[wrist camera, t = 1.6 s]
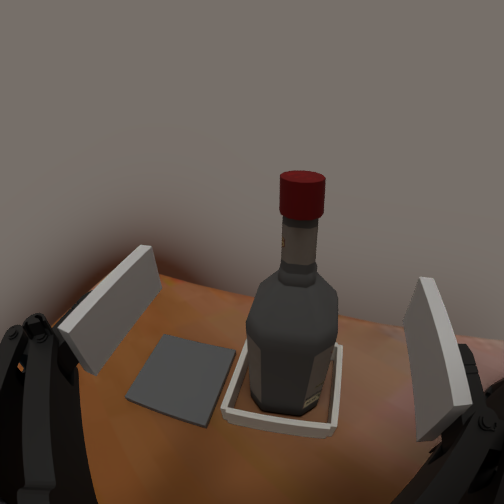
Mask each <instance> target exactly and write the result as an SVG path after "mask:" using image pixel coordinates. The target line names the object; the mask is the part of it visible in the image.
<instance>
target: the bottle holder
mask: <svg viewBox="0 0 504 504" xmlns="http://www.w3.org/2000/svg"><path fill="white" fill-rule="evenodd" d="M342 353H343V345H338V343H335V345H334V349H333V353H332V356H331V360H333V361H334V362H333V374H332V385H331V395H330V404H329V413H328V421H327V423H319V422H309V421H301V420H294V419H287V418H280V417H274V416H268V415H262V414H257V413H252V412H247V411H242V410H238V409H233V408H234V405H235V403H236V400H237V397H238V394H239V391H240V388H241V385H242V383H243V380H244V377H245V374H246V371H247V368H248V365H249V363H248V348H247V339H246V341H245V344H244V347H243V350H242V352H241V355H240V358H239V360H238V363H237V366H236V368H235V371H234V374H233V376H232V379H231V382H230V384H229V387H228V389H227V392H226V395H225V397H224V400H223V402H222V405H221V408H220V409H221V412H222V416H223V419H225V420H228V423H231V424H235V425H239V426H244V427H249V428H254V429H259V430H264V431H270V432H276V433H282V434H289V435H296V436H304V437H313V438H323V439H325V438H326V436H330V437H331V436H332V435H333V433H334V431H335V429H336V428H337V422H338V412H339V401H340V389H341V373H342Z"/></svg>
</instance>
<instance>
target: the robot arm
mask: <svg viewBox="0 0 504 504" xmlns="http://www.w3.org/2000/svg"><path fill="white" fill-rule="evenodd" d="M161 289H162V286H161V282H160V278H159V274H158V270H157V266H156V262H155V257H154V253H153V249H152V246H145V245H140V246H139V247H138V248H136V249H135V250H134V251H133V252H132V253H131V254H130V255H129V256H128V257H127V258H126V259H125V260H124V261H122V262H121V263H120V264H119V265H118V266H117V267H116V268H115V269H114V270H113V271H112V272H111V273H110V274H109V275H108V276H107V277H106V278H105V279H104V280H103V281H102V282H101V283H100V284H99V285H98V286H97V287H96V288H95V289H94V290H91V291H90V292H88V293H86V294H85V295H83V296H82V297H81V298H80V299H79V300H78V301H77V303H76V304H74V305H73V306H72V307H71V309H69V311H68V312H67V313H66V314H65V315H64V316H63V317H62V318H61V319H60V320H59V321H58V322H57V323H56V324H55V326H54V327H53V328H51V326H50V325H49V323H48V321H47V320H46V317H45V316H44V315H43V314H41V313H36V314H33V315H31V316H30V317H28V318H27V319H26V320H25V321H24V323H23V325H22V326H21V325H14V326H12V327H10V328H9V329H8V330H7V332H6V333H5V335H4V337H3V339H2V341H1V343H0V504H98V502H97V499H96V495H95V492H94V488H93V483H92V479H91V474H90V470H89V465H88V459H87V454H86V448H85V441H84V434H83V427H82V418H81V407H80V394H79V373H78V368H77V367H76V366H77V364H78V363H80V364H81V366H82V367H83V369H84V370H85V371H87V372H89V373H91V374H93V375H95V376H97V374H98V373H99V371H100V370H101V369H102V367H103V366H104V364H105V363H106V362H107V360H108V359H109V357H110V356H111V355H112V353H113V352H114V351H115V349H116V348H117V347H118V345H119V344H120V343H121V341H122V340H123V338H124V337H125V336H126V334H127V333H128V332H129V330H130V329H131V328H132V327H133V325H134V324H135V323H136V321H137V320H138V319H139V317H140V316H141V315H142V313H143V312H144V311H145V310H146V308H147V307H148V306H149V304H150V303H151V302H152V301H153V299H154V298H155V297H156V296H157V294H158V293H159V292H160V290H161ZM403 325H404V331H405V336H406V342H407V348H408V354H409V361H410V368H411V376H412V384H413V394H414V405H415V418H416V441H417V442H421V441H432V440H435V439H436V438H437V437H438V436H439V435H441V437H442V442H440V443H439V444H438V445H437V446H435V447H434V448H433V449H432V450H431V451H430V452H429V453H430V454H431V453H432V452H433V451H434V452H433V453H432V454H431V456H430V457H429V458H428V460H427V461H426V462H425V464H424V465H423V466H422V468H421V469H420V470H419V471H418V473H417V474H416V475H415V476H414V478H413V479H412V480H411V481H410V482H409V484H408V485H407V486H406V487H405V488H404V489H403V490H402V492H401V493H400V494H399V495H398V496H397V497H396V498H395V499H394V500H393V501H392V502H391V503H390V504H504V378H502V379H501V380H499V381H497V382H496V383H494V384H492V385H491V386H490V387H489V388H488V389H487V390H486V391H485V392H484V393H483V388H482V384H481V381H480V377H479V375H478V370H477V366H475V365H476V363H475V359H474V356H473V353H472V352H471V350H470V349H469V348H468V346H467V345H466V344H457V341H456V338H455V335H454V332H453V329H452V326H451V323H450V320H449V317H448V314H447V312H446V309H445V306H444V303H443V301H442V298H441V296H440V293H439V291H438V288H437V286H436V283H435V281H434V279H433V278H426V277H419V279H418V282H417V285H416V288H415V290H414V294H413V296H412V299H411V302H410V304H409V307H408V309H407V312H406V314H405V317H404V319H403ZM18 363H20V364H21V365H22V366H23V368H24V369H23V371H22V372H21V371H20V370H19V369H18V367H17V366H18Z"/></svg>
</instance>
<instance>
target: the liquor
mask: <svg viewBox="0 0 504 504" xmlns="http://www.w3.org/2000/svg"><path fill="white" fill-rule="evenodd" d="M325 179H326V178H325V177H324V176H323V175H322V174H319V173H316V172H311V171H288V172H284V173H282V174H281V175H280V207H279V210H280V213H281V215H283V222H282V252H281V253H282V254H281V264H280V268H279V270H278V271H276V272H275V273H274V274H272V275H271V276H270V277H268V278H267V279H265V280H264V281H263V282H261V283H260V285H259V288H258V290H257V293H256V296H255V299H254V301H253V304H252V307H251V309H250V312H249V315H248V318H247V320H246V334H247V348H248V363H249V377H250V390H251V397H252V398H253V399H254V401H255V402H256V403H257V405H258V406H259V407H260V409H261V410H264V411H270V412H276V413H283V414H290V415H298V416H301V415H302V414H304V413H305V412H307V411H309V410H310V409H312V408H313V407H315V406H316V405H317V402H318V399H319V396H320V393H321V390H322V387H323V384H324V380H325V377H326V374H327V370H328V367H329V364H330V360H331V356H332V353H333V349H334V345H335V342H336V338H337V334H338V297H337V293H336V291H335V290H334V289H333V288H332V287H331V286H330V285H329V284H328V283H327V282H326V281H325V280H324V279H323V278H322V277H321V276H320V275H319V274H318V273H317V264H316V262H315V259H316V245H317V232H318V218H320V217H321V216H322V215H323V213H324V198H325Z"/></svg>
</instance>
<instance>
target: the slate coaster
mask: <svg viewBox="0 0 504 504" xmlns="http://www.w3.org/2000/svg"><path fill="white" fill-rule="evenodd" d="M235 356H236V350H233V349H228V348H223V347H218V346H213V345H208V344H204V343H199V342H195V341H191V340H186V339H182V338H178V337H174V336H170V335H166V334H164V335H163V336H162V338H161V339H160V341H159V343H158V344H157V346H156V347H155V349H154V350H153V352H152V354H151V355H150V357H149V358H148V360H147V361H146V363H145V365H144V366H143V368H142V369H141V371H140V373H139V374H138V376H137V378H136V379H135V381H134V382H133V384H132V386H131V387H130V389H129V391H128V392H127V394H126V395H125V398H126V399H127V400H128V401H130V402H133V403H135V404H138V405H140V406H142V407H145V408H147V409H150V410H153V411H155V412H158V413H161V414H163V415H166V416H169V417H172V418H175V419H178V420H181V421H184V422H187V423H190V424H193V425H197V426H200V427H203V428H207V426H208V424H209V421H210V419H211V416H212V414H213V411H214V409H215V406H216V404H217V401H218V399H219V396H220V394H221V391H222V389H223V386H224V384H225V381H226V379H227V376H228V374H229V371H230V368H231V366H232V363H233V361H234V358H235Z"/></svg>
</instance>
